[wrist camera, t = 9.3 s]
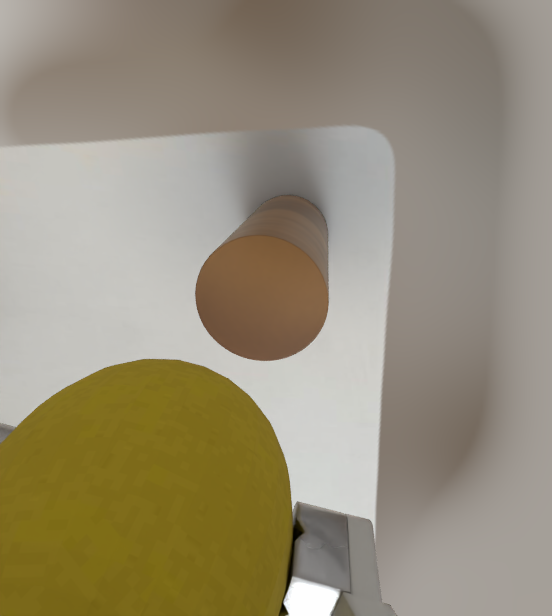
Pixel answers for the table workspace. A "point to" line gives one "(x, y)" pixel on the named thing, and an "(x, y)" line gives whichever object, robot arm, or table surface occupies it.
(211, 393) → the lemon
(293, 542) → the robot arm
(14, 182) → the table surface
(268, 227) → the stand
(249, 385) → the table surface
